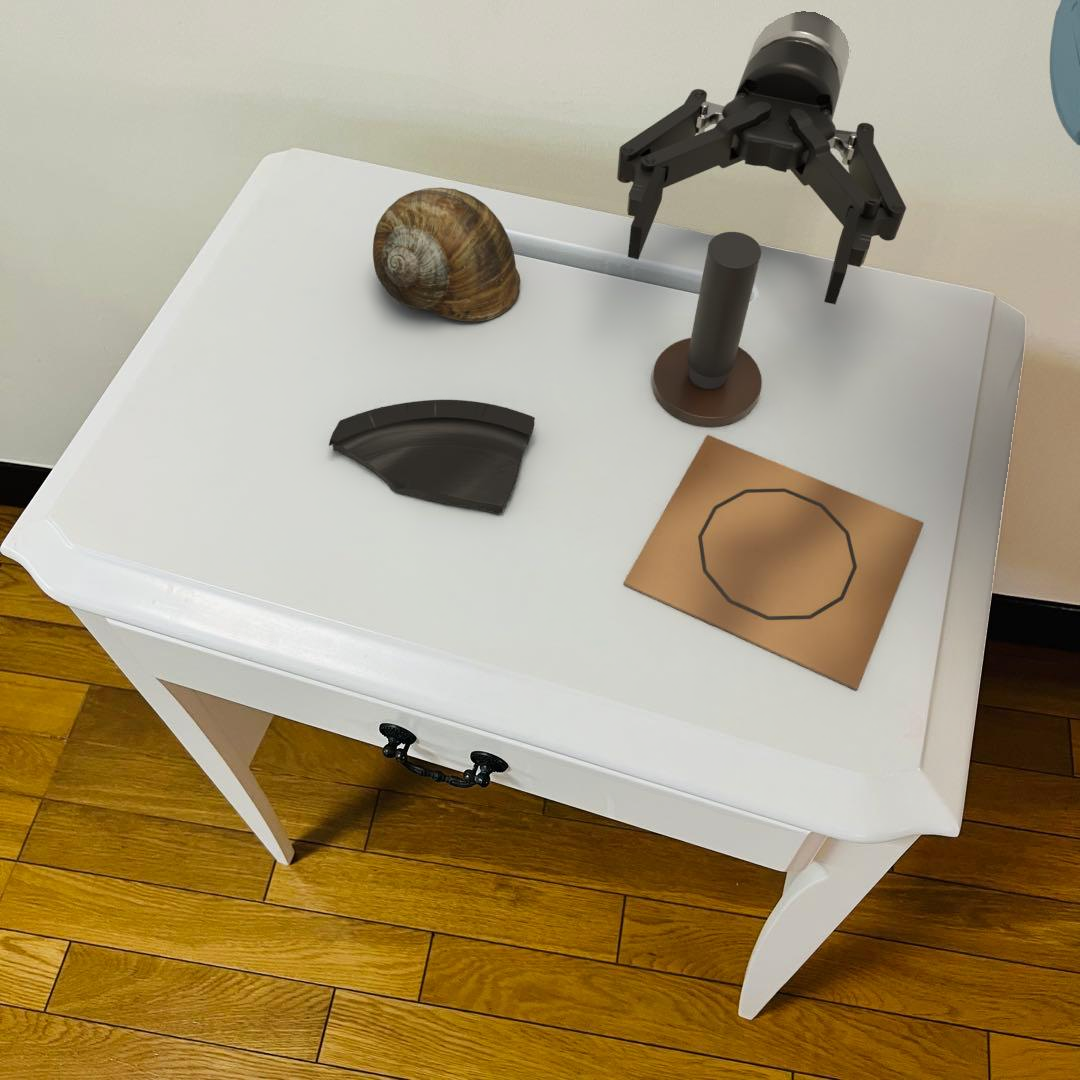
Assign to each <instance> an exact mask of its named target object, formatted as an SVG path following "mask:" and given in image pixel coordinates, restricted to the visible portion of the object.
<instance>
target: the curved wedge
mask: <svg viewBox="0 0 1080 1080" xmlns="http://www.w3.org/2000/svg"><path fill="white" fill-rule="evenodd" d="M535 421H536V417H534V416H532V415H530V414H527V413H525V412H521V411H519V410H516V409H512V408H508V407H504V406H502V405H497V404H491V403H487V402H481V401H475V400H463V399H429V400H416V401H408V402H402V403H401V402H400V403H396V404H390V405H386V406H380V407H377V408H373V409H369V410H366V411H363V412H360V413H356V414H354V415H351V416H348V417H345V418H343V419H340V420H339V421H338V422H337V425H336V426H335V428H334V431H332V433H331V436H330V439H329V442H328V446H329V447H331V446H332V450H333V451H335V452H337V453H339V454H341V455H343V456H346V457H347V458H350V459H352V460H354V461H355V462H358V463H359V464H361V465H362V466H364V467H366V468H367V469H369V470H370V471H371V472H373V473H374V474H375V475H376V476H377V477H379V478H380V479H381V480H383V481H384V482H385V484H387V485H388V486H389V488H390V490H392V491H393V492H395V493H397V494H401V495H405V496H409V497H410V496H411V497H413V498H416V499H417V498H419V499H423V500H427V501H432V502H436V503H441V504H446V505H447V504H448V505H453V506H457V507H464V508H469V509H475V510H481V511H486V512H491V513H493V514H494V513H495V514H502V513H503V512H504V511H505V508H506V505H507V503H508V502H509V500H510V499H511V496H512V494H513V492H514V489H515V487H516V484H517V481H518V478H519V474H520V471H521V470H520V469H521V465H522V460H523V457H524V452H525V449H526V447H527V446H528V444H529V443H530V439H531V437H532V434H533V431H535V430H534V429H535Z"/></svg>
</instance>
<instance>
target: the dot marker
mask: <svg viewBox="0 0 1080 1080" xmlns="http://www.w3.org/2000/svg"><path fill="white" fill-rule="evenodd" d="M761 255H762V248H761V246H760V244H759V242H758V241H757V240H756V239H755V238H753V237H752V236H750V235H748V234H746V233H744V232H738V231H724V232H722V233H719V234H717V235H715V236H714V237H713V238H712V239H711V240H710V241H709V243H708V246H707V251H706V257H705V261H704V267H703V271H702V277H701V283H700V288H699V294H698V299H697V303H696V309H695V313H694V314H695V315H694V320H693V324H692V331H691V336H690V338H691V340H690V346H689V351H688V357H687V360H688V364H689V366H690V368H689V378H690V380H691V381H692V382H693V383H694V384H695V385H696V386H698V387H700V388H704V389H715V388H718V387H720V386H721V385H723V384H724V382H725V381H726V378H727V374H728V373H729V372H730V371H731V370H732V368H733V366H734V362H735V358H736V354H737V350H738V346H739V345H740V342H741V337H742V334H743V330H744V325H745V322H746V318H747V313H748V308H749V305H750V302H751V297H752V293H753V289H754V284H755V280H756V276H757V273H758V269H759V264H760V260H761ZM739 347H740V346H739Z"/></svg>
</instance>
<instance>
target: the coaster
mask: <svg viewBox="0 0 1080 1080" xmlns="http://www.w3.org/2000/svg"><path fill="white" fill-rule="evenodd" d="M690 340H691V337H687V338H684V339H680V340H678V341H676V342H674V343H672V344H671V345H668V346H667V347H666V348H665V349H664V350H663V351H662V352H661V353H660V354H659V356H658V357H657V359H656V361H655V363H654V366H653V373H652V378H651V385H652V390H653V393H654V395H655V397H656V400H657V401H658V403H659V404H660V406H661V407H662V408H663V409H664V410H665V411H666V412H668V413H669V414H670V415H671V416H673V417H675V418H676V419H677V420H680V421H683V422H685V423H687V424H690V425H694V426H699V427H711V428H712V427H713V428H714V427H723V426H727V425H730V424H733V423H735V422H737V421H740V420H742V419H743V418H745V417H746V416H747V415H749V414H750V412H751V411H752V410H753V409H754V408H755V406H756V405H757V402H758V400H759V397H760V394H761V390H762V383H763V380H762V374H761V370H760V367H759V366H758V364H757V363H756V361H755V359H754V358H753V357H752V356H751V355H750V354H749V353H748V352H747V351H746V350H745V349H743V348H742V347H741V346H738V350H737V354H736V358H735V362H734V366H733V368H732V370H731V371H730V372H729V373H728V374H727V378H726V381H725V382H724V384H723V385H721V386H720V387H718V388H715V389H704V388H700V387H698V386H696V385H695V384H694V383H693V382H692V381H691V380H690V378H689V368H690V366H689V364H688V360H687V357H688V351H689V346H690Z"/></svg>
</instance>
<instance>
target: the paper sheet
mask: <svg viewBox="0 0 1080 1080" xmlns="http://www.w3.org/2000/svg"><path fill="white" fill-rule="evenodd" d="M923 525H924V521H921V520H918V519H915V518H914V517H911V516H909V515H906V514H904V513H901V512H899V511H896V510H894V509H891V508H889V507H886V506H884V505H882V504H879V503H876V502H874V501H873V500H869V499H867V498H864V497H862V496H860V495H857V494H854V493H852V492H849V491H848V490H845V489H842V488H840V487H838V486H835V485H833V484H830V483H828V482H825V481H822V480H820V479H818V478H815V477H813V476H810V475H807V474H805V473H803V472H801V471H798V470H795V469H793V468H791V467H788V466H786V465H783V464H781V463H778V462H776V461H773V460H771V459H768V458H766V457H763V456H761V455H758V454H756V453H754V452H751V451H749V450H747V449H744V448H742V447H739V446H736V445H734V444H731V443H729V442H726V441H724V440H722V439H719V438H717V437H715V436H712V435H709V434H707V435H706V436H705V438H704V440H703V441H702V443H701V445H700V447H699V449H698V450H697V452H696V454H695V455H694V457H693V458H692V461H691V463H690V464H689V466H688V468H687V469H686V471H685V473H684V475H683V476H682V478H681V480H680V481H679V484H678V485H677V487H676V489H675V491H674V493H673V494H672V496H671V498H670V500H669V501H668V503H667V505H666V507H665V509H664V510H663V512H662V514H661V516H660V517H659V519H658V521H657V522H656V524H655V527H654V528H653V529H652V532H651V533H650V535H649V537H648V539H647V541H646V542H645V544H644V546H643V547H642V549H641V551H640V553H639V555H637V556H638V557H637V558H636V559H635V562H634V563H633V565H632V567H631V569H630V571H629V572H628V574H627V576H626V577H625V580H624V581H623V586H625V587H628V588H630V589H632V590H634V591H636V592H639V593H641V594H643V595H645V596H647V597H650V598H652V599H654V600H656V601H658V602H661V603H663V604H665V605H667V606H669V607H672V608H674V609H677V610H678V611H681V612H682V613H685V614H687V615H689V616H692V617H694V618H696V619H698V620H700V621H703V622H704V623H707V624H709V625H711V626H713V627H716V628H718V629H720V630H723V631H724V632H726V633H728V634H731V635H734V636H736V637H738V638H740V639H742V640H744V641H747V642H749V643H751V644H752V645H755V646H757V647H760V648H762V649H764V650H766V651H769V652H770V653H773V654H775V655H777V656H779V657H782V658H783V659H786V660H787V661H791V662H793V663H795V664H797V665H799V666H802V667H804V668H806V669H808V670H810V671H812V672H815V673H817V674H819V675H822V676H824V677H826V678H828V679H830V680H832V681H835V682H837V683H839V684H841V685H843V686H846V687H848V688H850V689H852V690H855V691H857V690H858V689H859V687H860V684H861V681H862V679H863V677H864V674H865V671H866V669H867V666H868V664H869V662H870V659H871V657H872V655H873V651H874V648H875V647H876V644H877V641H878V639H879V637H880V634H881V631H882V630H883V626H884V624H885V621H886V619H887V617H888V614H889V612H890V609H891V606H892V603H893V602H894V599H895V597H896V594H897V591H898V589H899V586H900V583H901V581H902V579H903V576H904V573H905V571H906V568H907V566H908V563H909V561H910V558H911V556H912V553H913V551H914V548H915V546H916V544H917V541H918V538H919V535H920V533H921V531H922V528H923Z"/></svg>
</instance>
